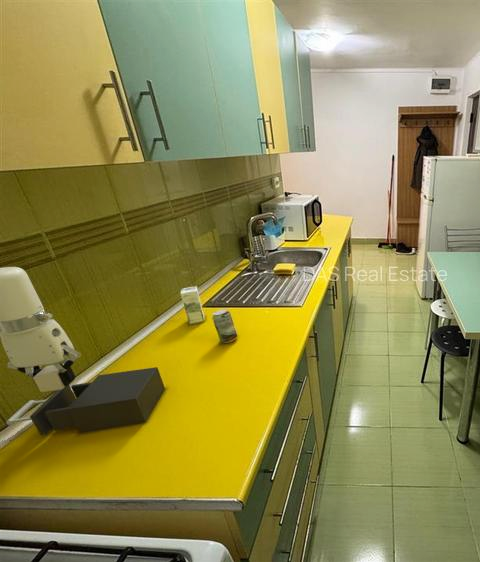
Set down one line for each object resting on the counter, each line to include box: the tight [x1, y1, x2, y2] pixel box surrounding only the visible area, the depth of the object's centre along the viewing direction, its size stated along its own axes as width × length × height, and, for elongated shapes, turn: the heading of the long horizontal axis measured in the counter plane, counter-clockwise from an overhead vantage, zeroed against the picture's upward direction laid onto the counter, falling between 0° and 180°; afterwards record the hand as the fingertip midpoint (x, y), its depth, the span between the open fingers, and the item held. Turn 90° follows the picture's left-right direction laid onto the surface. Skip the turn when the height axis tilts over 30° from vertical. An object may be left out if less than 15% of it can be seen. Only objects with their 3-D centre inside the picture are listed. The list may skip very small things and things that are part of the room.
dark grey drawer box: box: [67, 366, 166, 435], centre depth 81 cm, size 15×13×8 cm
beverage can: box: [211, 308, 238, 344], centre depth 112 cm, size 6×7×12 cm
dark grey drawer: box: [5, 381, 93, 436], centre depth 79 cm, size 21×11×6 cm, turn 103°
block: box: [32, 363, 65, 393], centre depth 75 cm, size 4×4×4 cm
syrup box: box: [180, 285, 205, 326], centre depth 125 cm, size 6×6×14 cm
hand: (57, 383), depth 76 cm, fingers closed on block, 4 cm apart
